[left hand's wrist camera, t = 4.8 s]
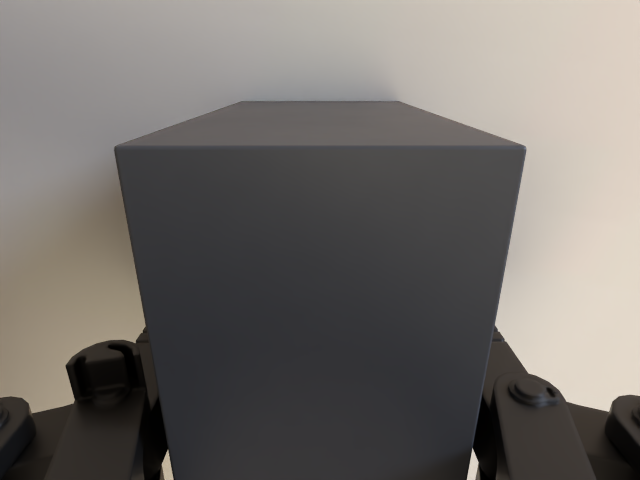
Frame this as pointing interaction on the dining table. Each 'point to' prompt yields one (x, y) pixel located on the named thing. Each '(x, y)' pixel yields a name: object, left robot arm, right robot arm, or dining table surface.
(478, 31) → the dining table surface
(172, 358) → the bar
